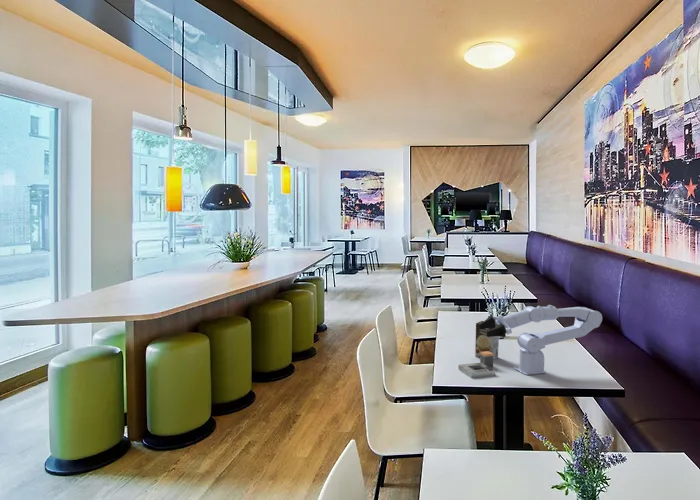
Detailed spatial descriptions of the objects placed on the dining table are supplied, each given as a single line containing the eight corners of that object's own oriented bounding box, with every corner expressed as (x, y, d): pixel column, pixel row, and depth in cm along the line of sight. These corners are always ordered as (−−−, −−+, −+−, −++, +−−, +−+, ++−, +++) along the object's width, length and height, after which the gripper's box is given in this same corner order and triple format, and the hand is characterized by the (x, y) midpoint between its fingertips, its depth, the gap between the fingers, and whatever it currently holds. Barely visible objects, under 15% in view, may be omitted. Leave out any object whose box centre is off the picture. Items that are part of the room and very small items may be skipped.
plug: (488, 364, 213) (488, 351, 213) (493, 367, 210) (493, 353, 209) (480, 365, 212) (480, 351, 212) (485, 367, 208) (485, 354, 208)
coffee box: (474, 356, 225) (474, 322, 223) (480, 353, 229) (481, 320, 228) (492, 360, 218) (493, 326, 217) (499, 357, 223) (499, 323, 222)
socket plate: (481, 366, 210) (481, 361, 209) (495, 375, 199) (495, 369, 199) (458, 369, 207) (458, 363, 207) (471, 377, 196) (471, 372, 196)
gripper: (503, 306, 207) (473, 315, 206) (519, 318, 193) (488, 329, 192) (506, 320, 209) (477, 330, 207) (522, 334, 195) (491, 344, 194)
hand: (482, 330), depth 200 cm, fingers open, 7 cm apart
